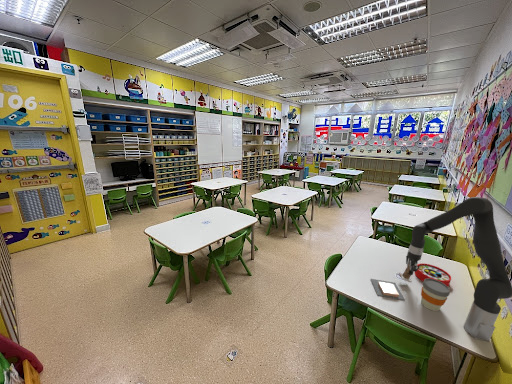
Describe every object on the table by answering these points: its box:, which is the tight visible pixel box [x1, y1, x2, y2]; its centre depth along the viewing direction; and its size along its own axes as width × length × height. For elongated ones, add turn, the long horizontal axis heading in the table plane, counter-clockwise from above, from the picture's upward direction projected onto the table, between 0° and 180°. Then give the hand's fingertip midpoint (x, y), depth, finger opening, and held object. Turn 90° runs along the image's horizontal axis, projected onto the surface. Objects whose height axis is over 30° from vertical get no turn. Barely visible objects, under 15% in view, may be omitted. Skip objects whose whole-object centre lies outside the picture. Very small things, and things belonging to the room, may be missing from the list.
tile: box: [378, 282, 399, 297], centre depth 138 cm, size 2×9×10 cm
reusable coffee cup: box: [420, 278, 451, 312], centre depth 126 cm, size 13×13×15 cm
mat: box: [370, 278, 406, 301], centre depth 140 cm, size 16×16×1 cm
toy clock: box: [414, 263, 452, 287], centre depth 152 cm, size 20×6×20 cm
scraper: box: [398, 264, 412, 283], centre depth 144 cm, size 6×6×11 cm
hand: (409, 272), depth 144 cm, fingers closed on scraper, 3 cm apart
